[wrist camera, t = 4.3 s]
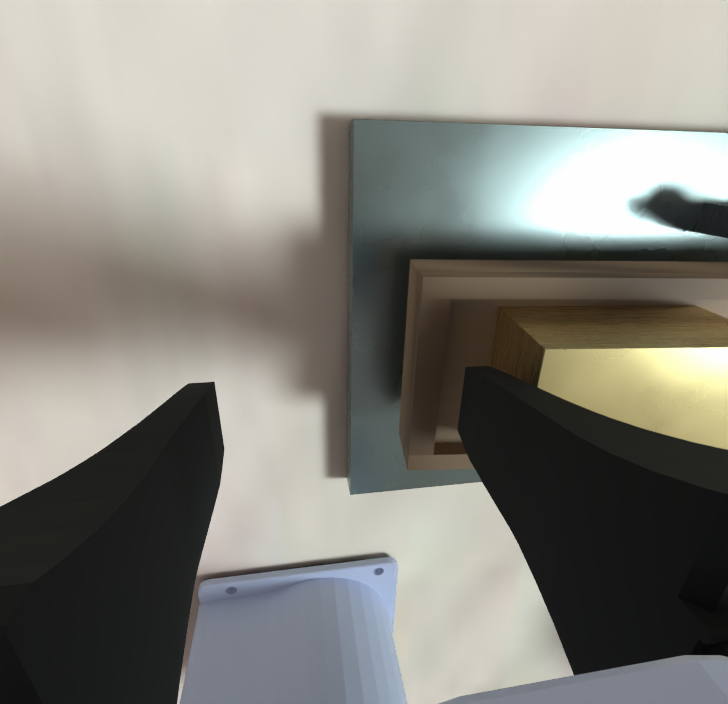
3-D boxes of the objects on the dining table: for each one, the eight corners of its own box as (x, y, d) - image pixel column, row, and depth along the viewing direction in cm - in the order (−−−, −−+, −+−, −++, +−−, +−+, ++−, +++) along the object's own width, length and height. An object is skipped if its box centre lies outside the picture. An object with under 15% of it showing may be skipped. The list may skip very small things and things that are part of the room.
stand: (347, 478, 19) (365, 579, 14) (349, 121, 13) (381, 104, 9) (841, 432, 23) (974, 499, 19) (1011, 145, 17) (1265, 142, 13)
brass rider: (478, 432, 14) (513, 499, 11) (498, 306, 12) (545, 349, 10) (651, 428, 14) (725, 492, 12) (696, 305, 13) (795, 346, 10)
